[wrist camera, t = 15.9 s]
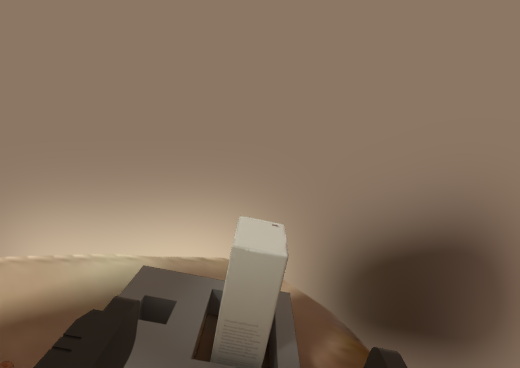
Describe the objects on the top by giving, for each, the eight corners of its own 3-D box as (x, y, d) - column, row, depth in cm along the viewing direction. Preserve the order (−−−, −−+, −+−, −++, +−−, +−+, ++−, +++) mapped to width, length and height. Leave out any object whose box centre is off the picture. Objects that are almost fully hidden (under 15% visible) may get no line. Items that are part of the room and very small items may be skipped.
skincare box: (217, 325, 28) (239, 214, 25) (259, 333, 28) (286, 223, 26) (204, 380, 22) (231, 244, 20) (257, 390, 23) (291, 256, 20)
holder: (66, 395, 19) (67, 360, 19) (140, 289, 31) (143, 265, 30) (294, 435, 20) (305, 402, 19) (283, 316, 32) (289, 293, 31)
